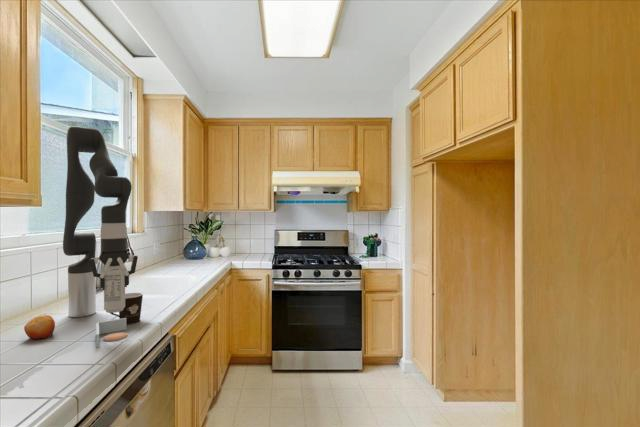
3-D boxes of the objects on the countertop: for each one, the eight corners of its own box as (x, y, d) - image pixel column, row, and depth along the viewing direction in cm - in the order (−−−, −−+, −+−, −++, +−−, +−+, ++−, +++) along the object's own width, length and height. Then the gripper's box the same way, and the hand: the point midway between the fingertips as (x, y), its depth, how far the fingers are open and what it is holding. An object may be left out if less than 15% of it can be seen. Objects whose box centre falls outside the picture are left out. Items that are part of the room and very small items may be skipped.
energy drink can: (129, 308, 120) (128, 263, 120) (118, 313, 114) (117, 266, 114) (111, 308, 120) (111, 263, 120) (99, 313, 114) (99, 266, 114)
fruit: (65, 327, 124) (56, 310, 119) (51, 346, 117) (41, 329, 113) (41, 327, 123) (31, 311, 119) (26, 346, 117) (15, 330, 112)
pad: (103, 336, 118) (103, 335, 118) (126, 332, 122) (126, 331, 122) (103, 342, 112) (103, 341, 112) (128, 338, 116) (128, 337, 116)
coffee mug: (144, 317, 139) (143, 291, 139) (141, 323, 131) (141, 296, 131) (110, 320, 135) (109, 294, 134) (105, 327, 127) (105, 300, 126)
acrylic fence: (96, 333, 120) (96, 322, 120) (126, 329, 125) (126, 317, 125) (96, 347, 108) (96, 334, 108) (129, 341, 113) (129, 329, 113)
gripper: (137, 235, 124) (138, 283, 124) (88, 237, 116) (88, 288, 116) (139, 236, 117) (140, 287, 118) (87, 238, 110) (88, 293, 110)
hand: (114, 287), depth 117 cm, fingers closed on energy drink can, 5 cm apart
